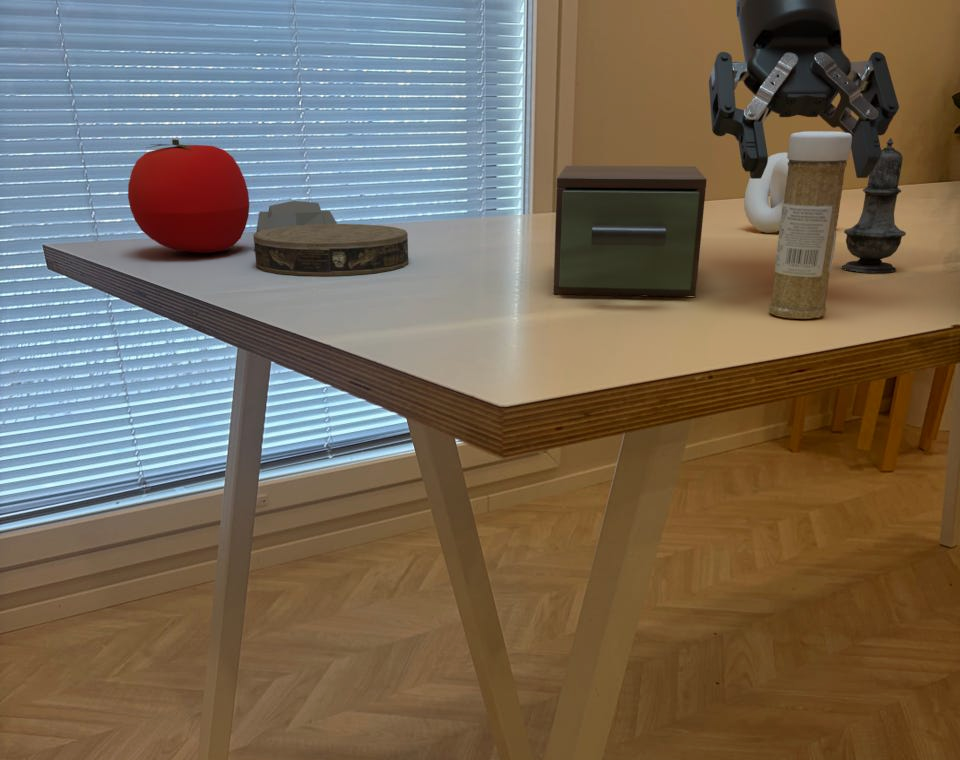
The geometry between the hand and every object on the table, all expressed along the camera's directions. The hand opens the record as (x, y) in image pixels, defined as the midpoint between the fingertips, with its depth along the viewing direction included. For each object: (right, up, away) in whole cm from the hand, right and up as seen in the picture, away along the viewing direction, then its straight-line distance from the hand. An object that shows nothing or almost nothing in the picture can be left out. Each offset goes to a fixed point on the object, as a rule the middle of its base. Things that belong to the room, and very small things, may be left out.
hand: (813, 171), depth 80 cm
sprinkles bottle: (0, -10, +4) cm, 11 cm away
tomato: (-58, +7, +35) cm, 68 cm away
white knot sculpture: (+13, +16, +51) cm, 55 cm away
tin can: (-41, +3, +28) cm, 50 cm away
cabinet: (-12, -2, +18) cm, 22 cm away
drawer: (-13, -4, +14) cm, 19 cm away
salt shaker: (+14, +1, +25) cm, 28 cm away
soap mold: (-48, +13, +46) cm, 68 cm away
